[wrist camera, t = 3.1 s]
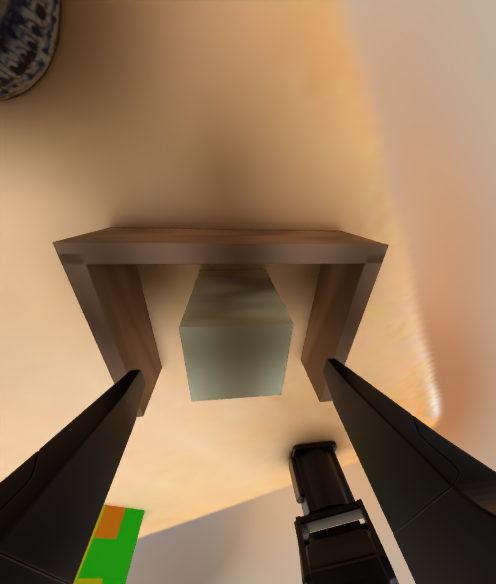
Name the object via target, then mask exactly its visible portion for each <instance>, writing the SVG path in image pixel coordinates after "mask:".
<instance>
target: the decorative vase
mask: <svg viewBox="0 0 496 584" xmlns="http://www.w3.org/2000/svg"><path fill="white" fill-rule="evenodd" d="M60 19H61V0H0V100H5V99H9V98H13V97H16V96H18V95H20V94H22V93H24V92H25V91H26V90H28V89H29V88H31V87H32V86H34V84H35V83H36V82H37V81H38V80H39V79H40V78H41V77H42V76H43V74H44V73H45V71H46V70H47V68H48V67H49V65H50V63H51V61H52V57H53V54H54V50H55V47H56V44H57V41H58V37H59V29H60Z"/></svg>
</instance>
